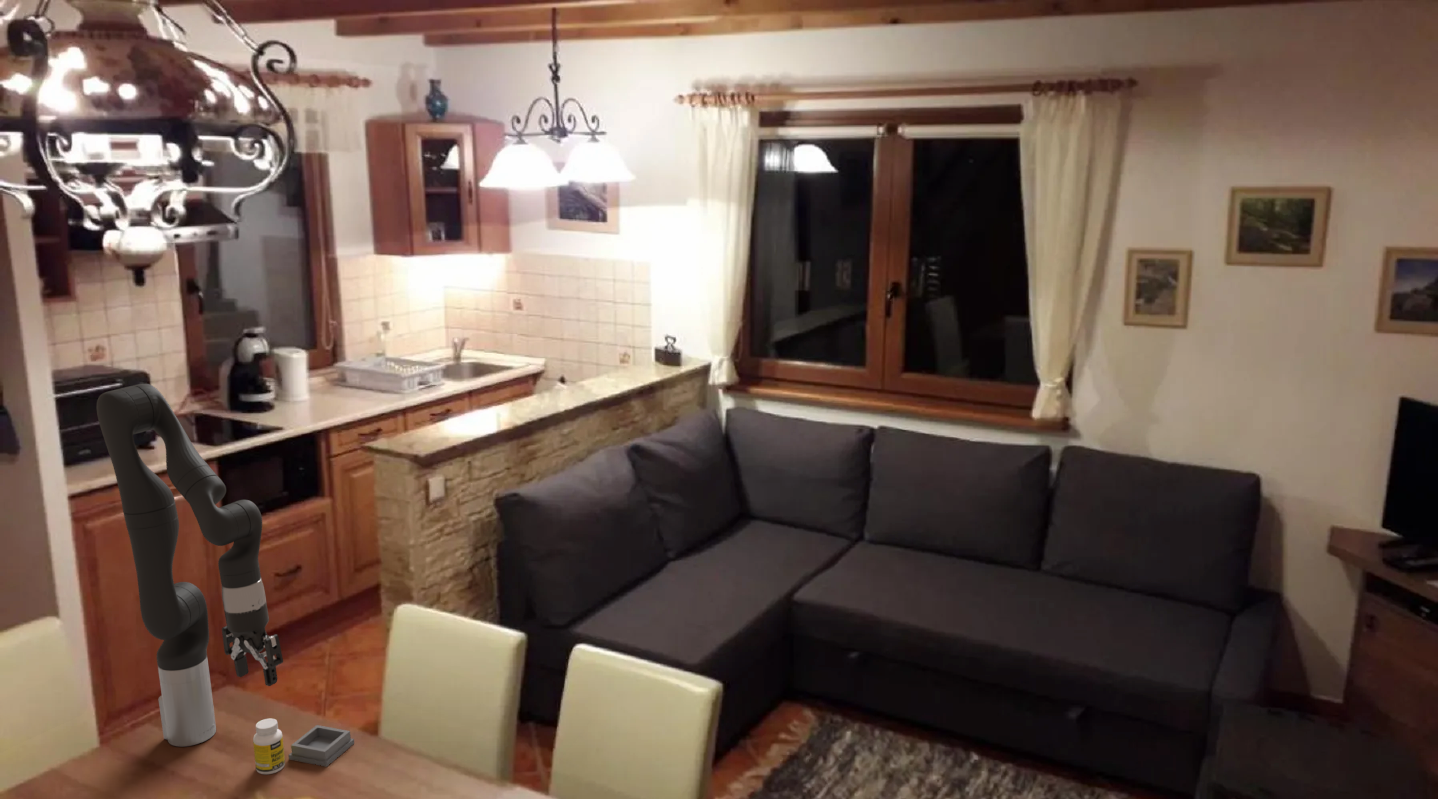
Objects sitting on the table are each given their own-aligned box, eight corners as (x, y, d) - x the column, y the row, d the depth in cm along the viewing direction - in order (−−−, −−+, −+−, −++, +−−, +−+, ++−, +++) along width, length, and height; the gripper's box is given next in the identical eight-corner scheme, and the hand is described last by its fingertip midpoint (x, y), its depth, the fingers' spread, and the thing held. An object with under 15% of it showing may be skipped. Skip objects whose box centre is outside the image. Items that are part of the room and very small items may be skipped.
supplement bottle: (275, 776, 211) (270, 732, 209) (250, 773, 212) (245, 729, 210) (291, 761, 216) (286, 717, 214) (266, 758, 217) (262, 715, 215)
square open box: (289, 759, 217) (287, 746, 216) (317, 736, 225) (316, 723, 224) (326, 766, 214) (325, 753, 213) (354, 743, 222) (353, 730, 222)
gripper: (204, 604, 207) (217, 680, 211) (252, 617, 200) (265, 696, 204) (237, 589, 213) (249, 664, 217) (286, 601, 206) (297, 678, 210)
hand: (257, 679), depth 210 cm, fingers open, 8 cm apart
